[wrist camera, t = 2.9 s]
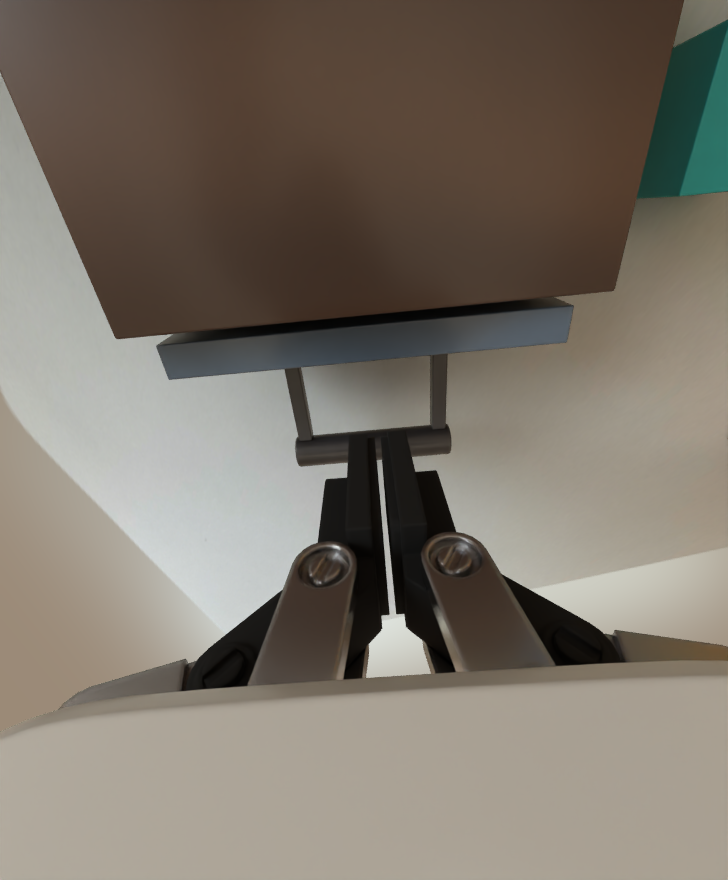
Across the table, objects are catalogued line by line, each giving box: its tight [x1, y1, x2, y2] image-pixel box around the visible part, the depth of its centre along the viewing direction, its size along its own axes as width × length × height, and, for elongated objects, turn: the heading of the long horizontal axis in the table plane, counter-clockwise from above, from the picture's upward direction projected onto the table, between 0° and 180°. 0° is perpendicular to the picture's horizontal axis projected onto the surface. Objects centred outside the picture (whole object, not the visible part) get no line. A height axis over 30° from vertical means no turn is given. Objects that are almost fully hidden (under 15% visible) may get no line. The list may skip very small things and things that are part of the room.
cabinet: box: [0, 0, 684, 339], centre depth 11 cm, size 15×15×9 cm
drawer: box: [156, 297, 574, 467], centre depth 14 cm, size 19×13×7 cm
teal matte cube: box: [636, 20, 728, 199], centre depth 14 cm, size 4×4×4 cm
